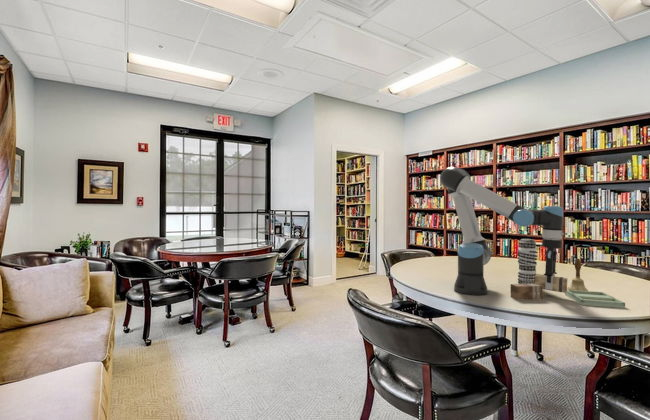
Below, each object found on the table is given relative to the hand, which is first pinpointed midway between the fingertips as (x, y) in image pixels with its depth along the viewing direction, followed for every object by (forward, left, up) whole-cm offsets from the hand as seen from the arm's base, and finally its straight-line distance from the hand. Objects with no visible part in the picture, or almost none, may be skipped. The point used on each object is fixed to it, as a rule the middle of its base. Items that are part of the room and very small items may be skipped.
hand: (549, 288), depth 148 cm
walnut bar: (-11, -6, -4) cm, 13 cm away
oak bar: (0, 0, 0) cm, 1 cm away
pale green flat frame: (+16, -2, -4) cm, 16 cm away
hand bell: (+18, +18, -4) cm, 25 cm away
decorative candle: (-4, +19, -4) cm, 20 cm away
